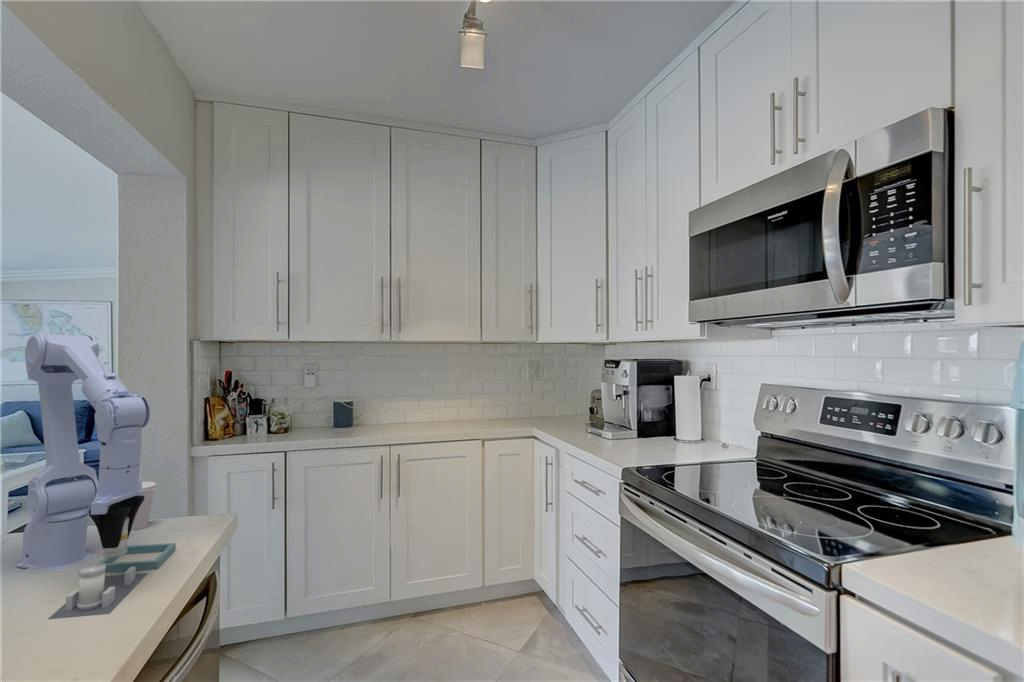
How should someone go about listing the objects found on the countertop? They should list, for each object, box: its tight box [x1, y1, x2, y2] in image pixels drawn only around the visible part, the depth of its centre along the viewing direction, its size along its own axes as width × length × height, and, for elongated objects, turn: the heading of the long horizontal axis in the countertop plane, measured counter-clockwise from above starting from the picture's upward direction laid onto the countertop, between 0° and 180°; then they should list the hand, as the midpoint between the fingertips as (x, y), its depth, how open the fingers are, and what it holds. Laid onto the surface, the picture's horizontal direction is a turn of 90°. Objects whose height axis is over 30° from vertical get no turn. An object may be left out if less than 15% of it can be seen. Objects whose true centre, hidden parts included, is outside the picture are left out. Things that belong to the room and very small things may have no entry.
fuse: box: [77, 562, 106, 610], centre depth 83 cm, size 3×3×6 cm
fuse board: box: [47, 567, 149, 620], centre depth 86 cm, size 15×8×3 cm, turn 16°
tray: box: [98, 542, 177, 574], centre depth 100 cm, size 10×10×2 cm
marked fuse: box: [102, 517, 129, 558], centre depth 91 cm, size 3×3×6 cm
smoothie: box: [131, 465, 157, 531], centre depth 120 cm, size 6×6×14 cm
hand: (115, 543), depth 90 cm, fingers closed on marked fuse, 3 cm apart
